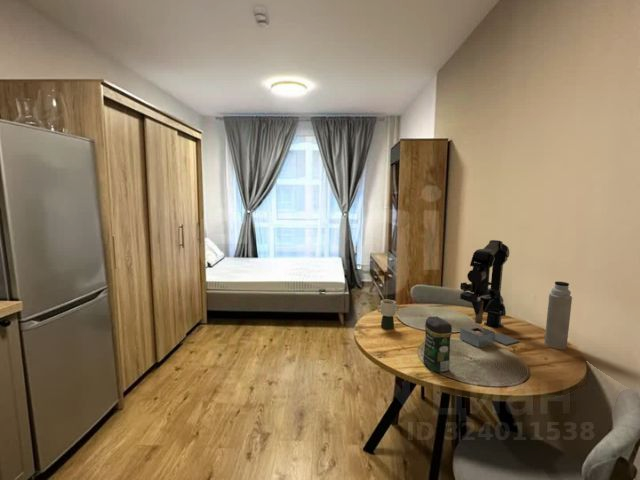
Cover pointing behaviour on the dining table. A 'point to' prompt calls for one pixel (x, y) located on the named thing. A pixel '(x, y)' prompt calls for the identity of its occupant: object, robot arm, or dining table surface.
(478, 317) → the brown cylinder rod
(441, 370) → the coffee jar
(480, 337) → the plate
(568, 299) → the thermos bottle
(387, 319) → the character mug
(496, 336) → the pad
